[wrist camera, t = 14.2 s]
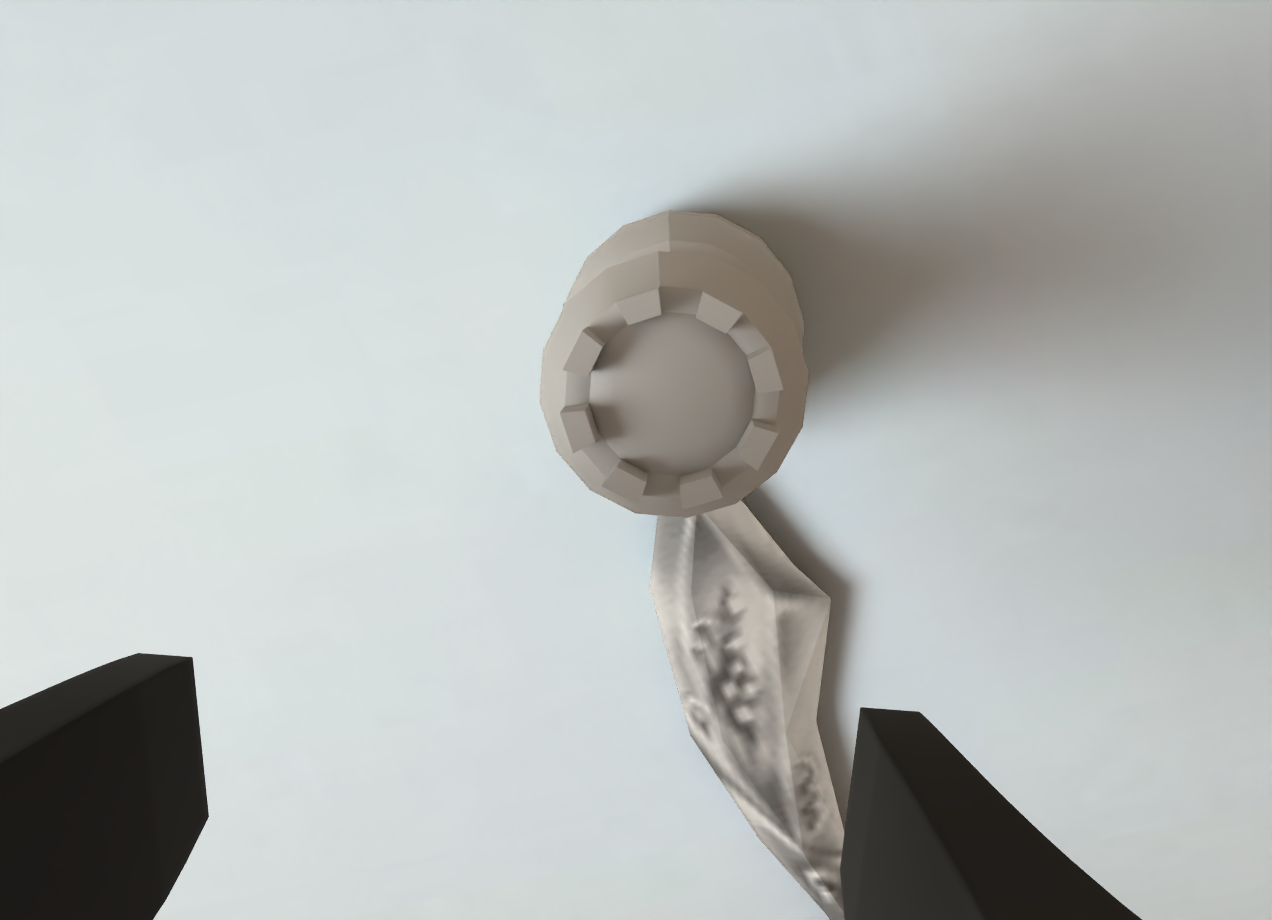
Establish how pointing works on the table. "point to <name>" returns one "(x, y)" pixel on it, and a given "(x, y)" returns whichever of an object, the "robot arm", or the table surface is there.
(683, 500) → the rook chess piece
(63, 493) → the table surface
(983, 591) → the table surface
